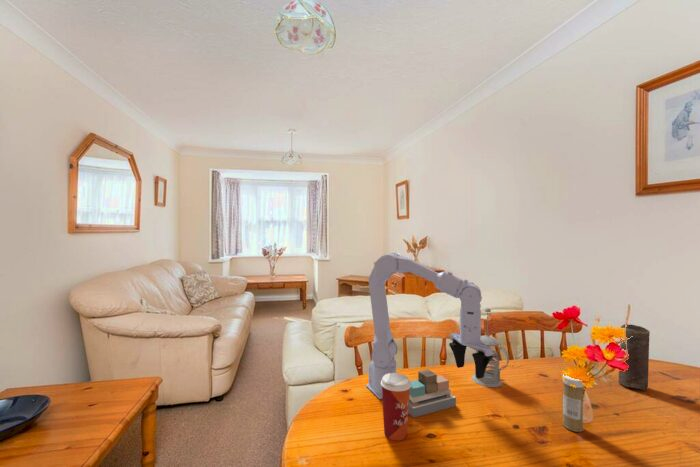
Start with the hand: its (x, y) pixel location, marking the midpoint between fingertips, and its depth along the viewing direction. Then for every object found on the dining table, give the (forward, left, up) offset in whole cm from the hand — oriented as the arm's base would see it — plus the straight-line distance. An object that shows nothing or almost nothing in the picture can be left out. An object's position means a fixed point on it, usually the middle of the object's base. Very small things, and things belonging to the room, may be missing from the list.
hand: (469, 372), depth 93 cm
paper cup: (+2, -26, -11) cm, 28 cm away
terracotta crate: (-6, -6, -6) cm, 10 cm away
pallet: (-6, -10, -8) cm, 14 cm away
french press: (-10, +19, -11) cm, 24 cm away
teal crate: (-6, -15, -6) cm, 17 cm away
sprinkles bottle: (+18, +18, -11) cm, 28 cm away
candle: (+12, +60, -11) cm, 62 cm away
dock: (-6, -10, -10) cm, 16 cm away
